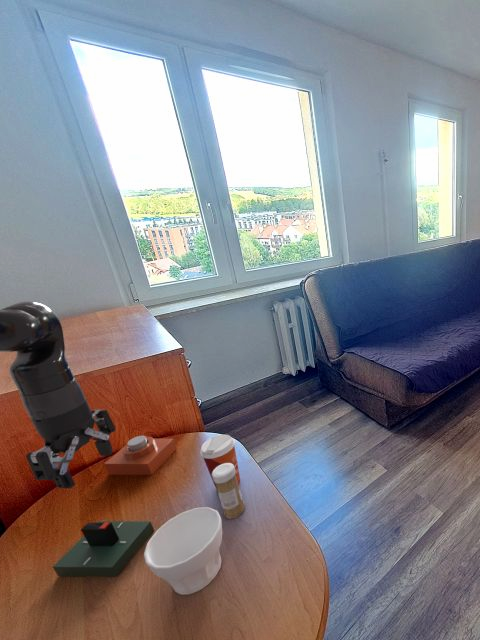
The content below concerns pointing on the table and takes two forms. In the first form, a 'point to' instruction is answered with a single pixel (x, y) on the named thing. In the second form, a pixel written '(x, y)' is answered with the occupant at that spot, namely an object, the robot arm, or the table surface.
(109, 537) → the dial knob
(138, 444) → the grey push button
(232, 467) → the sprinkles bottle
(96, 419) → the robot arm
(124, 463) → the domed button plate
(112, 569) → the dial panel
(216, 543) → the cup
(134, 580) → the table surface
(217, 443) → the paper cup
